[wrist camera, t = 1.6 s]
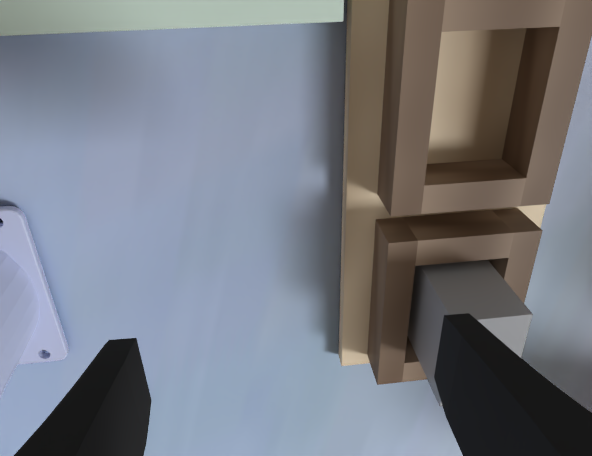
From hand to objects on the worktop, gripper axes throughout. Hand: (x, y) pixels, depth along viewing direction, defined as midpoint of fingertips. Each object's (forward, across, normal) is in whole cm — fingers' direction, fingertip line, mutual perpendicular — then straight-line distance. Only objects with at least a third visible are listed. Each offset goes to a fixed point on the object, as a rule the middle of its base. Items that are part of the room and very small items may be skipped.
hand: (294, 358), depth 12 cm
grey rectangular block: (+10, -8, +6) cm, 14 cm away
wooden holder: (+11, -7, +1) cm, 13 cm away
